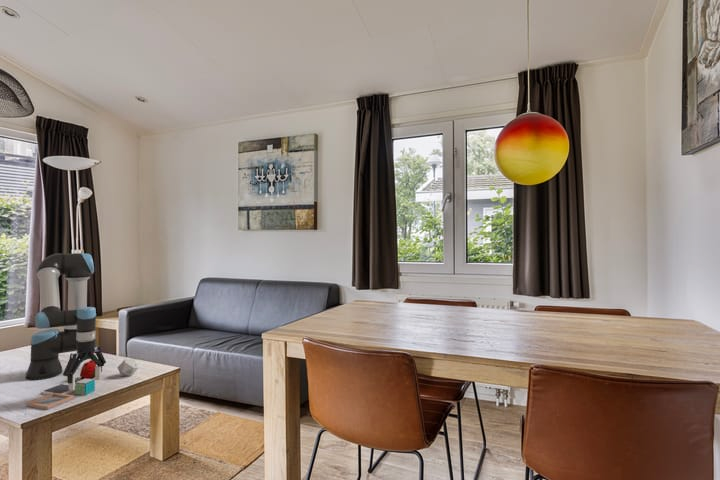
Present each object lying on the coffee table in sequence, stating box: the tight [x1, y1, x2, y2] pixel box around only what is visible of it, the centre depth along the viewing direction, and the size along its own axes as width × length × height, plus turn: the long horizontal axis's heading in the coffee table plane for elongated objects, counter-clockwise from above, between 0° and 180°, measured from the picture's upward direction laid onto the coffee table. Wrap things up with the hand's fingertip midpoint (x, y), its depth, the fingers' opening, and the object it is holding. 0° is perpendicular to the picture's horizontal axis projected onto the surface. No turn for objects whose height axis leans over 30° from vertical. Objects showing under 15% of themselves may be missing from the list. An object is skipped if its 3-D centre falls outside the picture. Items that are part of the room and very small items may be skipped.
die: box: [117, 358, 139, 377], centre depth 211 cm, size 8×9×10 cm
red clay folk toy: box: [79, 352, 97, 380], centre depth 205 cm, size 8×7×15 cm
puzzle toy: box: [74, 378, 96, 396], centre depth 186 cm, size 6×6×6 cm
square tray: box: [26, 393, 75, 411], centre depth 175 cm, size 12×12×1 cm
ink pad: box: [40, 383, 75, 396], centre depth 187 cm, size 12×10×1 cm
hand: (85, 384), depth 186 cm, fingers open, 13 cm apart
